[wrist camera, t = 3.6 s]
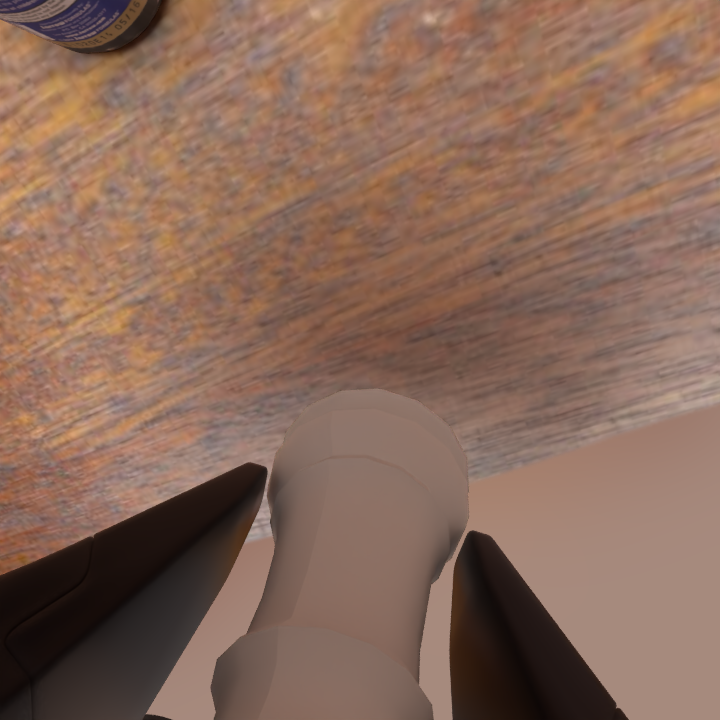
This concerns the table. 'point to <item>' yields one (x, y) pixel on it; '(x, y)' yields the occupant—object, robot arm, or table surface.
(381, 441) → the rook chess piece
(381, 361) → the table surface
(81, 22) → the pill bottle
